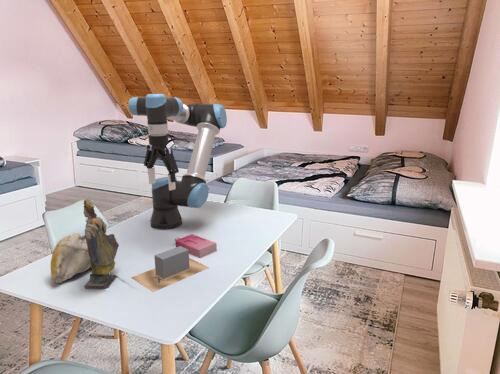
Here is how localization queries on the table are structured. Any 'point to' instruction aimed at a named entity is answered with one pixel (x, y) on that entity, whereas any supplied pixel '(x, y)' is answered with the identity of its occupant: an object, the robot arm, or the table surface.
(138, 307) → the table surface
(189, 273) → the oak board
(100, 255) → the statue
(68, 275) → the stone
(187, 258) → the block
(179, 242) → the pink flat block
